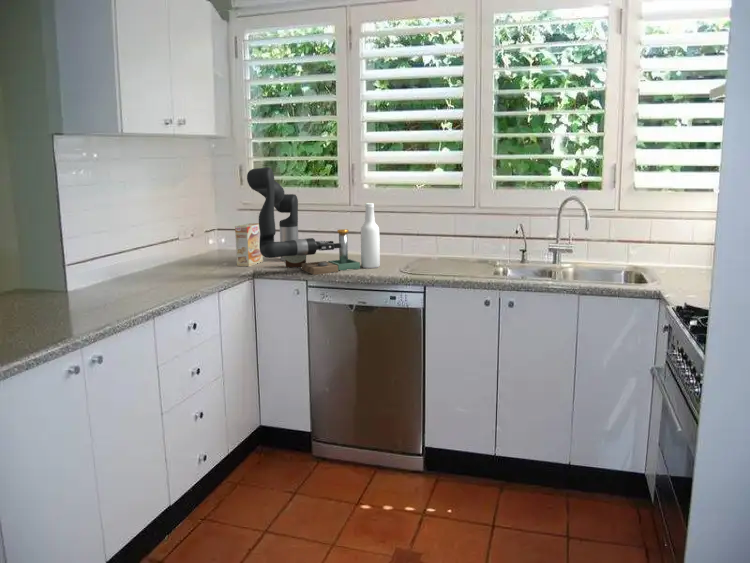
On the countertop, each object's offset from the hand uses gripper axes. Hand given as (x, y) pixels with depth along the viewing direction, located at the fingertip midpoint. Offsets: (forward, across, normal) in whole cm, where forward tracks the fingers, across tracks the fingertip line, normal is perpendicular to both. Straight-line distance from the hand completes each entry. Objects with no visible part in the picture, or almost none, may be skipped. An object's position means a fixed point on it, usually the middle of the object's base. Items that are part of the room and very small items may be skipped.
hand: (336, 244), depth 313 cm
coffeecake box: (-31, +35, +12) cm, 49 cm away
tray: (+3, 0, +11) cm, 12 cm away
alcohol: (+15, -4, +12) cm, 20 cm away
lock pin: (+3, 0, +11) cm, 11 cm away
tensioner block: (-10, -2, +12) cm, 15 cm away
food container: (-14, +15, +12) cm, 24 cm away
